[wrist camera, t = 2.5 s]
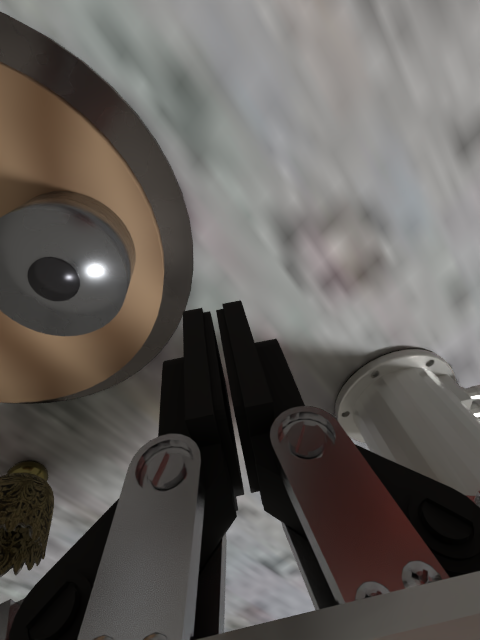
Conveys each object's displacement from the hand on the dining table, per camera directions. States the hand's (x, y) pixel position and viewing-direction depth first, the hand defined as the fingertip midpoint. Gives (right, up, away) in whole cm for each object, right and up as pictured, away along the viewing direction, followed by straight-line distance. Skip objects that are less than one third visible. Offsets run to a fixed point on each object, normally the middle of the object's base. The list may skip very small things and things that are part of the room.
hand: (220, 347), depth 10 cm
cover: (-9, +5, +11) cm, 15 cm away
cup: (-21, -14, +25) cm, 35 cm away
